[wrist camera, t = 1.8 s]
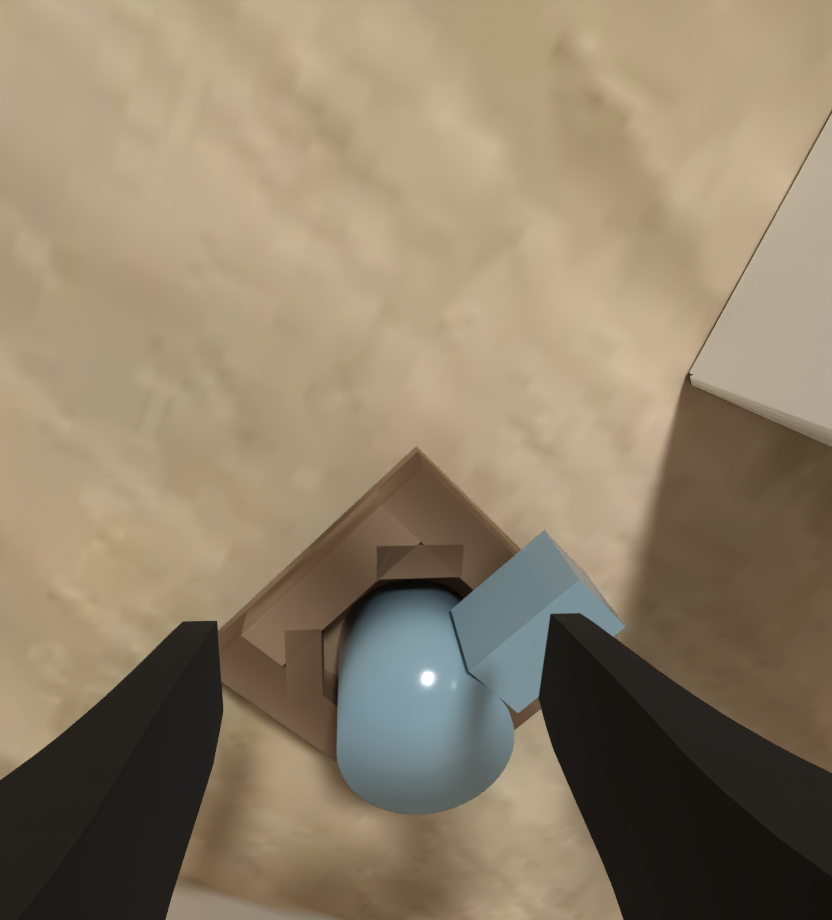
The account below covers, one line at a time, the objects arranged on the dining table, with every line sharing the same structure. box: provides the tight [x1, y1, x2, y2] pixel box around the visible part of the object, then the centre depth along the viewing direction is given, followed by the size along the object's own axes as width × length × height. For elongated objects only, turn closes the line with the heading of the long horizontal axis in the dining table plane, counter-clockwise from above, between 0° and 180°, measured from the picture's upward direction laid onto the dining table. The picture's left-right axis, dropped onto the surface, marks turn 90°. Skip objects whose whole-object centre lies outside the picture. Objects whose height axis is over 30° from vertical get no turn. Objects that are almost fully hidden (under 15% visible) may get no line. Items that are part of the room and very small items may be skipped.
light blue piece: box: [337, 530, 626, 814], centre depth 19 cm, size 9×5×5 cm, turn 133°
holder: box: [218, 447, 541, 763], centre depth 21 cm, size 10×10×2 cm
